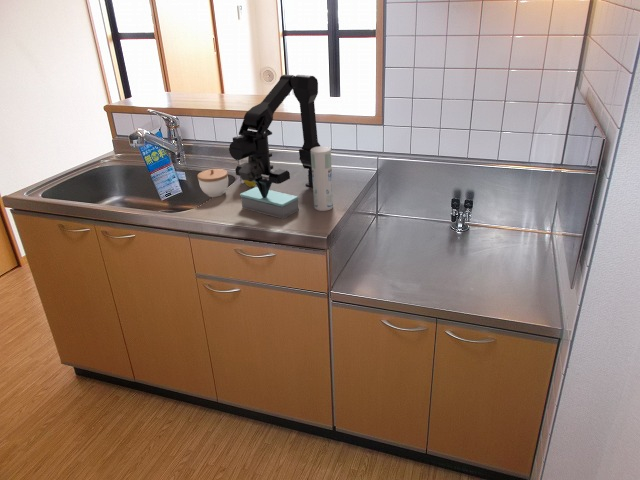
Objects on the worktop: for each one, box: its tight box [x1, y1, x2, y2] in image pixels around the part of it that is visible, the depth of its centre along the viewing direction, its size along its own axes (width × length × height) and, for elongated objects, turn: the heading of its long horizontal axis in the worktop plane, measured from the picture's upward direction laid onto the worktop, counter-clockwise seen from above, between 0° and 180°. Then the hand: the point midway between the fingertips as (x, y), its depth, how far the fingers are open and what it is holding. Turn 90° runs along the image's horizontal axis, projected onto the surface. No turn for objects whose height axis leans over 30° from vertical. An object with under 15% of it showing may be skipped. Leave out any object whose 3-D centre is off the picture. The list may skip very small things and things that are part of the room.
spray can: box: [311, 145, 334, 212], centre depth 167 cm, size 6×6×20 cm
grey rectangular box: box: [240, 196, 299, 220], centre depth 172 cm, size 8×18×4 cm, turn 55°
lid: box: [239, 186, 299, 207], centre depth 171 cm, size 8×18×1 cm, turn 55°
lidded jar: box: [197, 168, 229, 198], centre depth 186 cm, size 11×11×9 cm
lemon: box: [244, 180, 257, 189], centre depth 190 cm, size 6×6×8 cm
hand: (264, 197), depth 169 cm, fingers closed, pressing on lid
